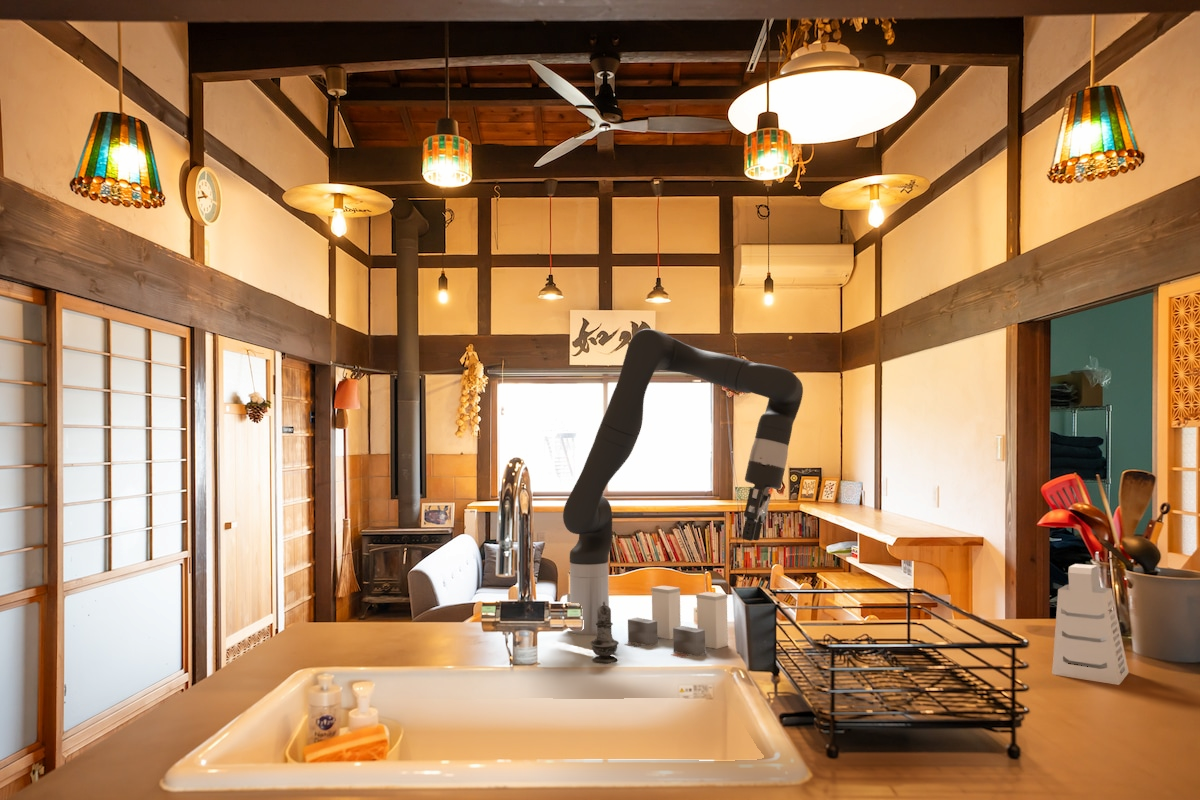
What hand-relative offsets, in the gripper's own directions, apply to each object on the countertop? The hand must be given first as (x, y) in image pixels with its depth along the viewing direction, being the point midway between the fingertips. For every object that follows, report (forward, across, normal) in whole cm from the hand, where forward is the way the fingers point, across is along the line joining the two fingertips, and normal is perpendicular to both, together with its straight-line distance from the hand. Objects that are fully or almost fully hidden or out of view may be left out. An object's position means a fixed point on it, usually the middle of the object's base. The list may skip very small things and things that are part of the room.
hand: (750, 539), depth 154 cm
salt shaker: (+31, +6, -23) cm, 39 cm away
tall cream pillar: (+26, -13, -16) cm, 33 cm away
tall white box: (+24, -8, -4) cm, 26 cm away
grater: (+9, -13, +65) cm, 67 cm away
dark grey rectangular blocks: (+27, -8, -11) cm, 30 cm away
